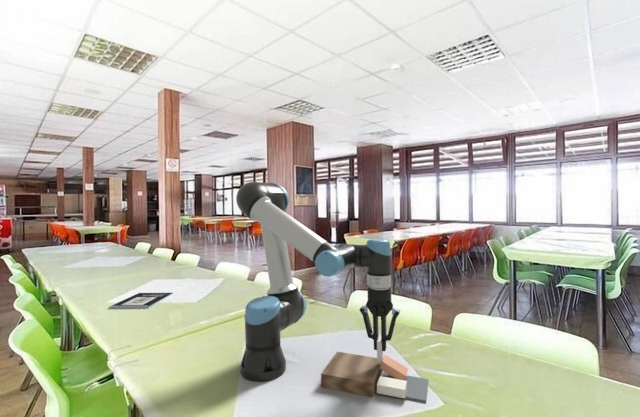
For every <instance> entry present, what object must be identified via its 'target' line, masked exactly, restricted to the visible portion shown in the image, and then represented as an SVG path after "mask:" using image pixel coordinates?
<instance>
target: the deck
mask: <svg viewBox="0 0 640 417" xmlns="http://www.w3.org/2000/svg"><path fill="white" fill-rule="evenodd" d="M381 363H382V362H377V357H374V356H369V355H368V356H367V355H361V354H355V353H351V352H350V353H348V352H342V351H336V353H335V354H334V355H333V356H332V358H331V359H330V360H329V362H328V363H327V365H326V366H325V368H324V369H323V370H322V372H321V373H320V387H322V388H326V389H330V390H331V389H332V390H336V391H340V392H345V393H349V394H357V395H361V396H364V397H365V396H366V397H370V398H373V397H374V395H375V392H376V390H377V383H378V380H379V378H380V376H382V374H383V370H381V369H380V365H381Z"/></svg>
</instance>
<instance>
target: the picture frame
mask: <svg viewBox="0 0 640 417" xmlns="http://www.w3.org/2000/svg"><path fill="white" fill-rule="evenodd" d="M173 294H174V292H138V293H135V294H133V295H131V296H130V297H127V298H125V299H123V300H121V301H119V302H117V303H114V304H112V305H110V306H109V307H108V308H109V310H112V309H113V310H117V309H118V310H120V309H121V310H131V309H133V310H134V309H136V310H137V309H139V310H142V309H143V310H144V309H150V308H152V307H153V306H155V305H157V304H158V303H160V302H161V301H163V300H165V299H167V298H169V297H170V296H172V295H173Z"/></svg>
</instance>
